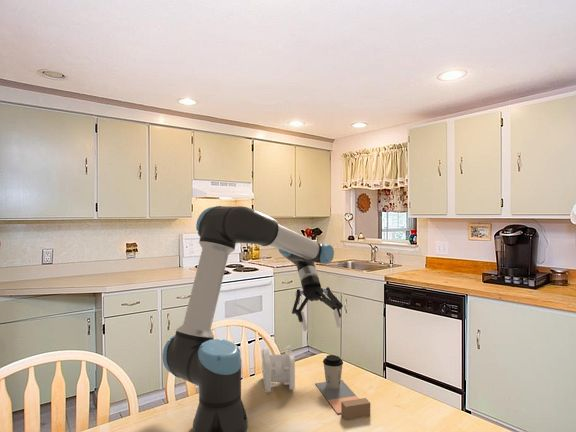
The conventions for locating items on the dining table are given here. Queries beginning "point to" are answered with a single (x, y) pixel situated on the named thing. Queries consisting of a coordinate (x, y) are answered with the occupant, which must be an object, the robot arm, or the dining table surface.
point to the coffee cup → (333, 371)
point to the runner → (335, 392)
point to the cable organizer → (278, 368)
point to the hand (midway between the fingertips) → (322, 327)
